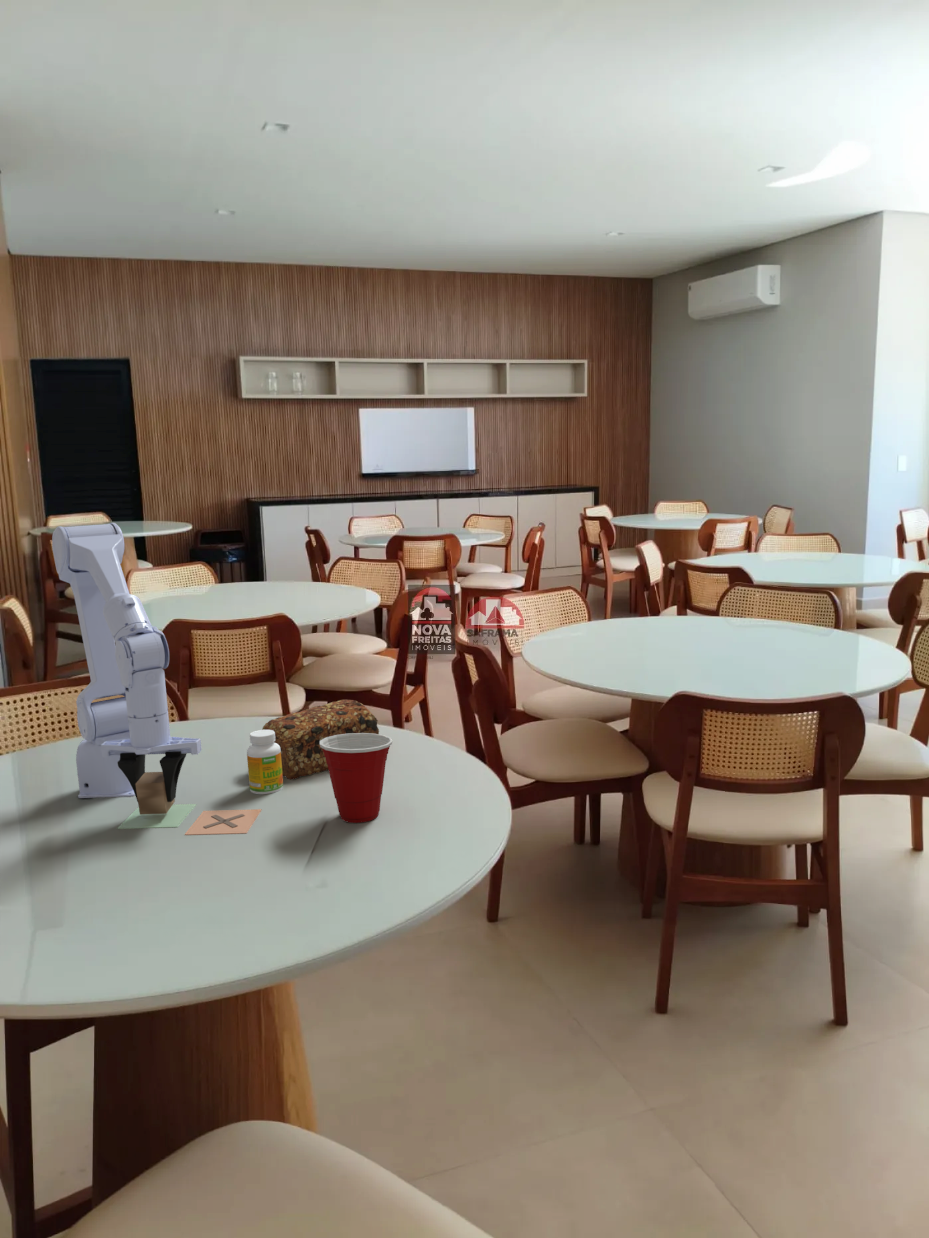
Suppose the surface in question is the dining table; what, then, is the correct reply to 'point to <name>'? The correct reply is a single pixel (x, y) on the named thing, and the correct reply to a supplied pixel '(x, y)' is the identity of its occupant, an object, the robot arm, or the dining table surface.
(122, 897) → the dining table surface
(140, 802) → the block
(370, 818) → the plastic cup
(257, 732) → the supplement bottle
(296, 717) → the bread
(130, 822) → the tile
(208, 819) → the tile
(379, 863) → the dining table surface
